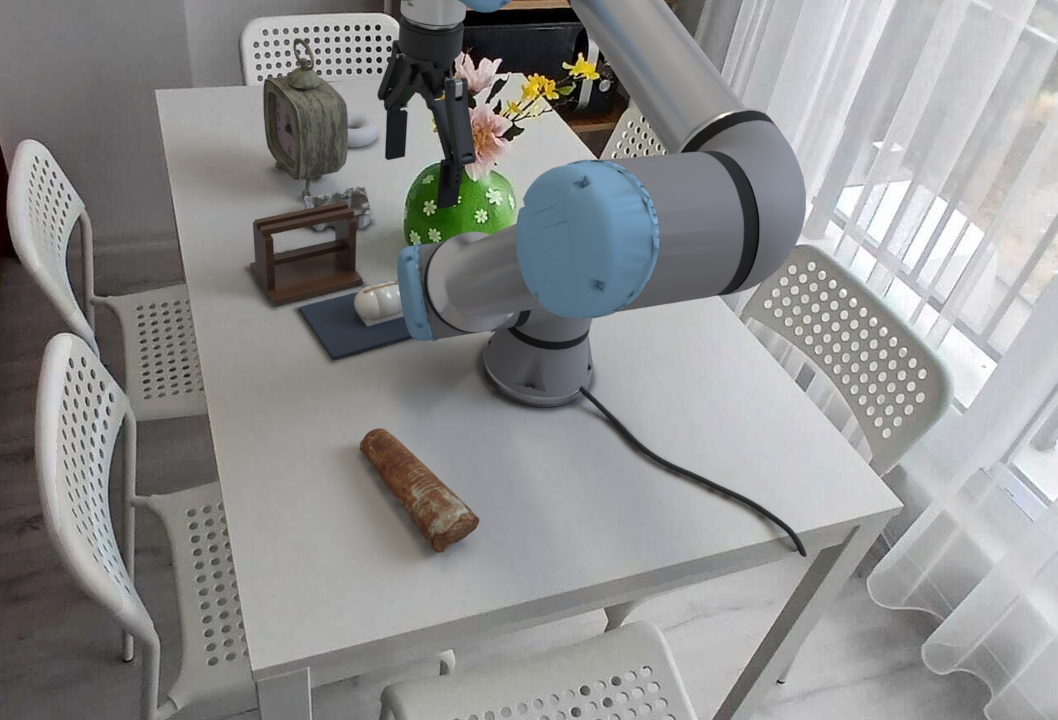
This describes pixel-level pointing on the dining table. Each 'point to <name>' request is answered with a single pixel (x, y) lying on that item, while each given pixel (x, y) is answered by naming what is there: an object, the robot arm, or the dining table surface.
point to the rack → (306, 255)
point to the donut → (361, 130)
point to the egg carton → (352, 196)
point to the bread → (419, 491)
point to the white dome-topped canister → (379, 303)
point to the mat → (350, 327)
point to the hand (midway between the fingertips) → (420, 180)
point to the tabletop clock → (305, 123)
